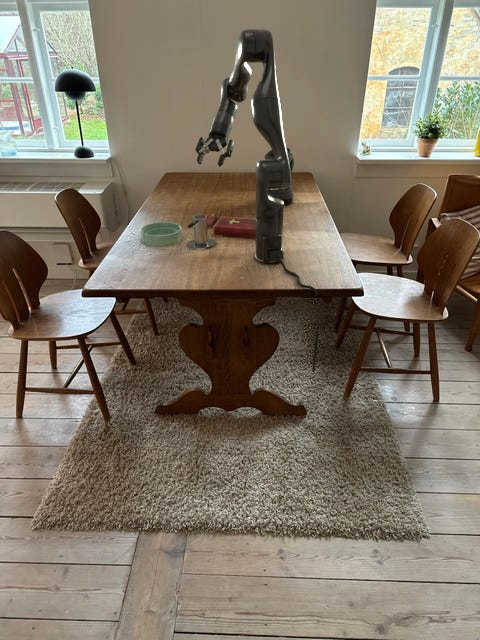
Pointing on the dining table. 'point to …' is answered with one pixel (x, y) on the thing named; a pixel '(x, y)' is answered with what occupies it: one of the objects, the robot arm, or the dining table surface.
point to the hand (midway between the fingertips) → (209, 164)
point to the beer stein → (287, 193)
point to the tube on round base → (200, 229)
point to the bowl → (161, 233)
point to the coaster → (207, 246)
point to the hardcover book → (235, 227)
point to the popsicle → (210, 220)
